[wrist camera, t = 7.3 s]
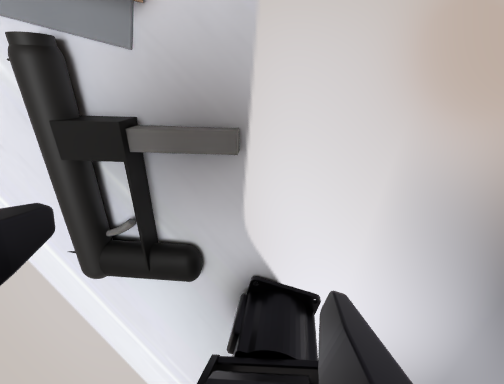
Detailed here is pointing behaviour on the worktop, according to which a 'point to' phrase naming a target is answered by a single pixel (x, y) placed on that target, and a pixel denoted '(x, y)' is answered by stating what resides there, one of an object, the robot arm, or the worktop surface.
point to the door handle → (104, 149)
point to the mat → (77, 17)
